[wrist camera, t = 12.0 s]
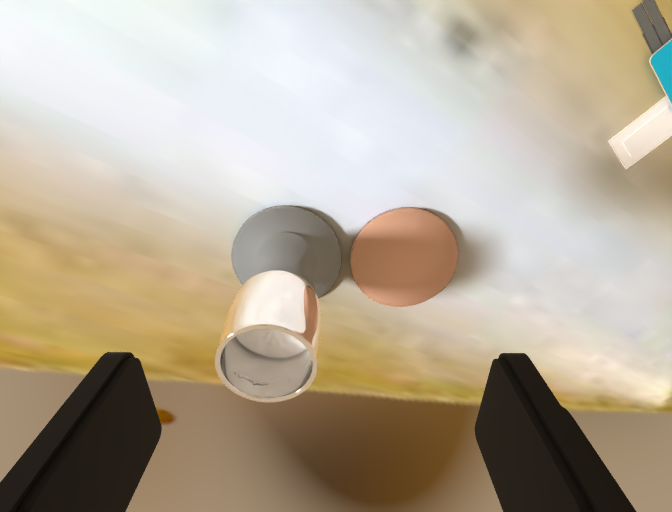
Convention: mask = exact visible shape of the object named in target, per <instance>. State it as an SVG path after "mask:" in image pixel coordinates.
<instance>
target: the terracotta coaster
mask: <svg viewBox="0 0 672 512" xmlns="http://www.w3.org/2000/svg"><path fill="white" fill-rule="evenodd" d="M350 263H351V270H352V275H353V278H354V280H355V282H356V284H357V286H358V287H359V288H360V290H361V291H362V292H363V293H364V294H365V295H366V296H368V297H369V298H370V299H372V300H374V301H376V302H378V303H380V304H384V305H388V306H395V307H404V306H411V305H415V304H419V303H422V302H424V301H426V300H428V299H430V298H432V297H433V296H435V295H436V294H438V293H439V292H440V291H441V290H442V289H443V288H444V287H445V286H446V285H447V284H448V282H449V281H450V280H451V278H452V276H453V275H454V272H455V270H456V267H457V263H458V245H457V242H456V239H455V236H454V234H453V233H452V231H451V230H450V228H449V227H448V226H447V225H446V223H445V222H444V221H443V220H442V219H440V218H439V217H438V216H436V215H435V214H433V213H431V212H429V211H426V210H423V209H419V208H411V207H405V208H397V209H392V210H389V211H386V212H384V213H381V214H379V215H378V216H376V217H374V218H373V219H372V220H370V221H369V222H368V223H367V224H366V225H365V226H364V227H363V228H362V229H361V230H360V232H359V233H358V235H357V237H356V238H355V240H354V243H353V245H352V249H351V256H350Z"/></svg>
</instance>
